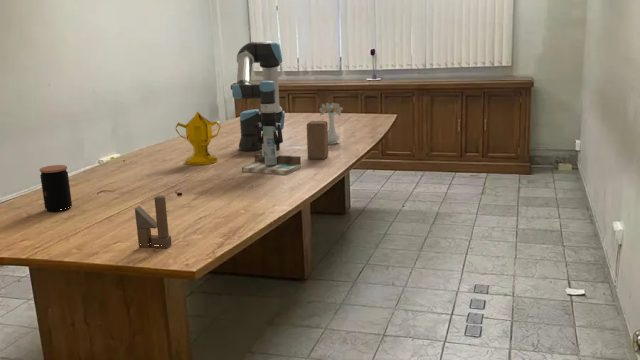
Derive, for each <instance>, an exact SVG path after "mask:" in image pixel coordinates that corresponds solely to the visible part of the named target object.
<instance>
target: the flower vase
mask: <svg viewBox="0 0 640 360" xmlns="http://www.w3.org/2000/svg"><path fill="white" fill-rule="evenodd" d="M318 110H319V112H320V113H319V117H320V116H323V115H325V114H326V113H327V116H328V123H329V124H328V145H334V144H337V143H338V142H339V140H340V135H339V133H338V132H337V131H336V128H335V115H336V114H337V115H338V117H339V116H341V115H342V111H343V110H344V108H343V107H341V106H340V103H335V102H331V103H329V102H326V103H325V104H324V103H322V104H321V107H320V108H319V109H318Z"/></svg>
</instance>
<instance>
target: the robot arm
mask: <svg viewBox="0 0 640 360" xmlns="http://www.w3.org/2000/svg"><path fill="white" fill-rule="evenodd" d="M281 48H282V47H281V45H280V43H279V41H276V40H275V41H273V40H270V41H268V40H267V41H251V42H248V43H246V44H245V45H243V46H241V48H240V49H239V51H238V52H237V55H236V63H237V75H236V83H235V84H233V85H232V86H231V92H232V94H231V95H232V98H233V99H234V100H237V99H238V100H242V99H243V100H244V99H247V100H248V99H260V109H259V108H257V109H256V108H255V109H248V110H244V111H242V112H240V113H239V125H240V139H239V143H238V150H239V151H241V152H256V151H261V150H262V152H261V154H263V156H264V140H263V126H273V127H275V129H276V131H275V132H274V131H273V132H274V140H275V143H276V144H275V145H274V148H275V157H278V156H279V155H280V154H279V151H280V149H281V148H280V147H281V145H280V144H282V143H284V140H283V139H284V138H283V131H282V130H283V129H284V127H285V114H286V112H285V110H283V107H281V105H280V91H279V71H278V68H279V67H280V65H281V63H282V62H283V55H282V50H281ZM253 64H259V67H260V68H262V79H263V80H261V81H260V82H258V83H252V76H253V75H252V72H253V69H252V68H253Z"/></svg>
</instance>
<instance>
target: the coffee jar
mask: <svg viewBox="0 0 640 360" xmlns="http://www.w3.org/2000/svg"><path fill="white" fill-rule="evenodd" d="M67 169H68V167H67V165H65V164H53V165H47V166H43V167H40V168H39V172H40V174H39V175H40V184H41V189H42V191H41V192H42V196H43V198H42V199H43V202H44V204H43V205H44V209H45V210H46V209H47V210H46V211H47V212H48V213H61V212H65V211H69V210H70V209H71V208H72V205H73V201H72V193H71V186H70V181H69V180H70V179H69V172H68V171H67ZM70 206H71V207H70ZM68 207H69V208H68ZM65 208H66V209H65ZM60 209H62V210H60Z"/></svg>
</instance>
